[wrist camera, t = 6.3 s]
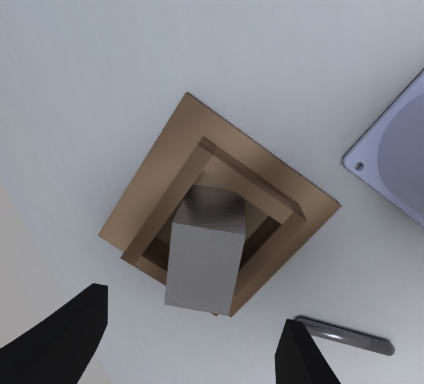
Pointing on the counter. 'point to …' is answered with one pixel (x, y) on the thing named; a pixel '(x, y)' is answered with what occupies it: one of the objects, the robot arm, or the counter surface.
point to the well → (224, 179)
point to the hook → (348, 337)
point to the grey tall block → (206, 250)
